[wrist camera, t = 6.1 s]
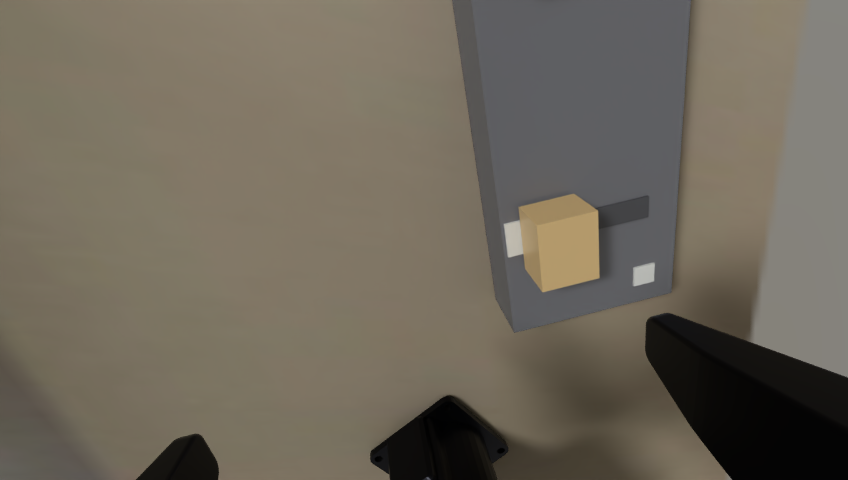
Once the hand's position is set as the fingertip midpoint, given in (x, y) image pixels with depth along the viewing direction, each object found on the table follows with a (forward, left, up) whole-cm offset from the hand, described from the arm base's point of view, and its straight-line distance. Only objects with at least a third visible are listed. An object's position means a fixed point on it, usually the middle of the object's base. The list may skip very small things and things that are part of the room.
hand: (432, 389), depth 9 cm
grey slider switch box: (-1, -9, -13) cm, 16 cm away
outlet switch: (-5, -4, -10) cm, 12 cm away
